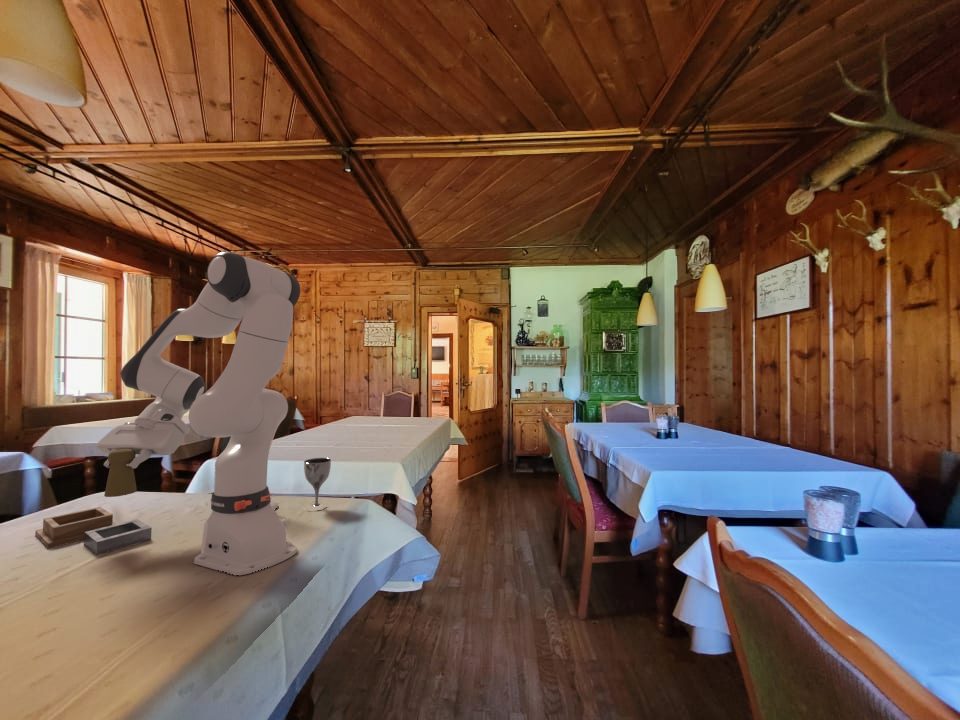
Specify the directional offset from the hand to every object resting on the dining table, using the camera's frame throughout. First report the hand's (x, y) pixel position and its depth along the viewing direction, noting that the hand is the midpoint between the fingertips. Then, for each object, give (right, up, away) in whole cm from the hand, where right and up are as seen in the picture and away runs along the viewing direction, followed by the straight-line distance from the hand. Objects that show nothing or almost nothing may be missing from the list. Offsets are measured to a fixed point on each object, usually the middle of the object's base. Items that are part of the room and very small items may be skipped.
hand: (119, 467), depth 97 cm
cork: (0, -7, 0) cm, 7 cm away
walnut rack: (-16, -19, +5) cm, 25 cm away
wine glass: (+39, -20, +26) cm, 51 cm away
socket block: (0, -19, 0) cm, 19 cm away
